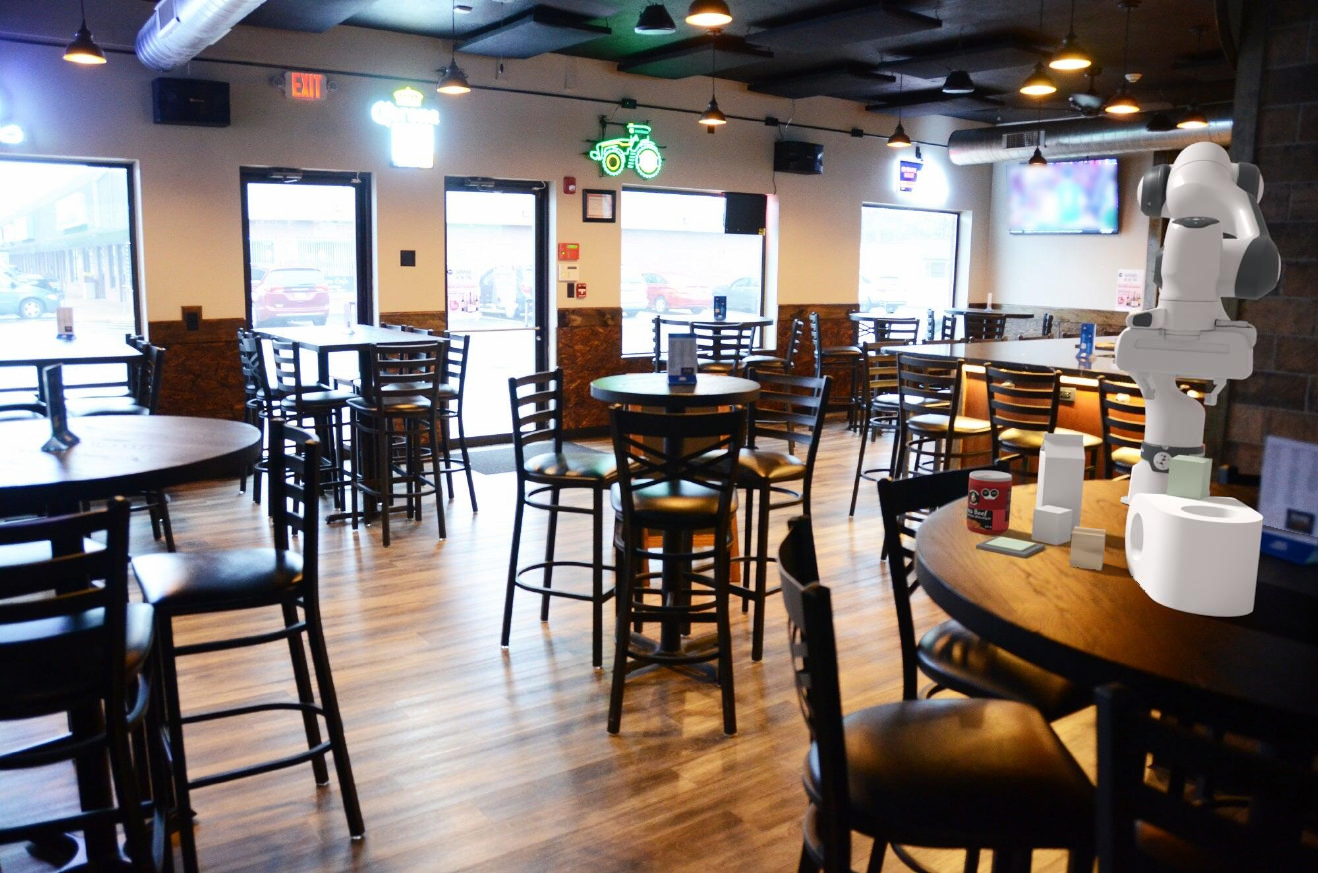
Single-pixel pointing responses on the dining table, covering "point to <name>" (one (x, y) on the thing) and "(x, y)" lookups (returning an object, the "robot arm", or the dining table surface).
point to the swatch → (1010, 546)
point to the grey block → (1052, 524)
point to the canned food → (989, 502)
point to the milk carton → (1061, 473)
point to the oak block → (1087, 548)
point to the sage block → (1189, 477)
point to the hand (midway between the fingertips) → (1178, 402)
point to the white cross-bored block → (1194, 552)
